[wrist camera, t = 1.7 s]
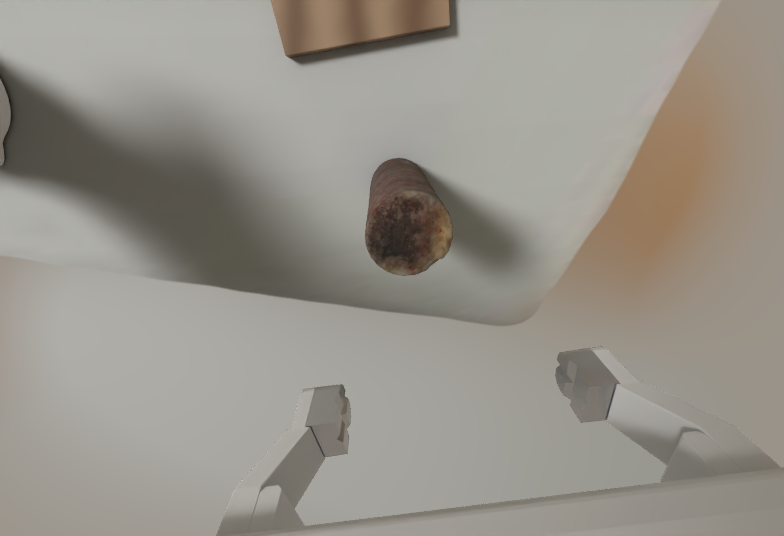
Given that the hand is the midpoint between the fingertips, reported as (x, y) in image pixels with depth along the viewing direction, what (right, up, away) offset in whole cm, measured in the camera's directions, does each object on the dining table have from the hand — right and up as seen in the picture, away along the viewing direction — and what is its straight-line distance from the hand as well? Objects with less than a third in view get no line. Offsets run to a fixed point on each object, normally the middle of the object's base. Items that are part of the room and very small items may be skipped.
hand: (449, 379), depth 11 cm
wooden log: (-1, +16, +30) cm, 34 cm away
